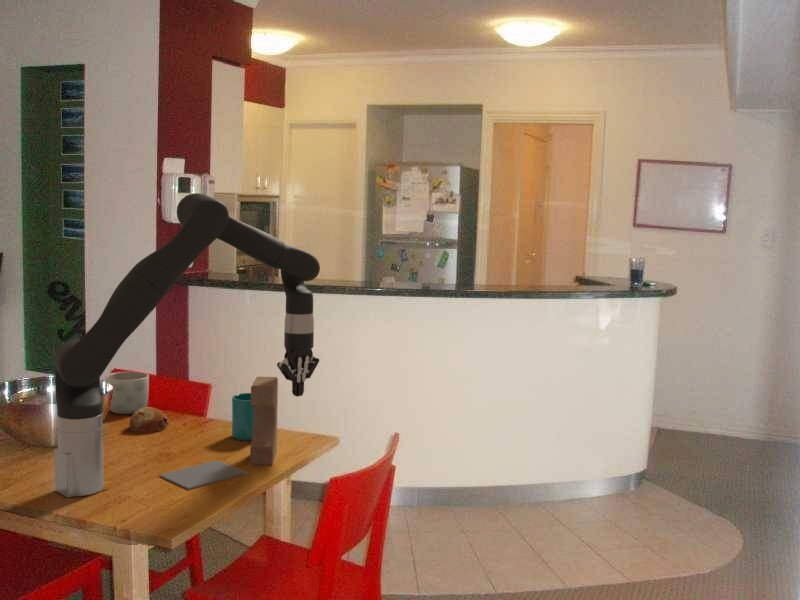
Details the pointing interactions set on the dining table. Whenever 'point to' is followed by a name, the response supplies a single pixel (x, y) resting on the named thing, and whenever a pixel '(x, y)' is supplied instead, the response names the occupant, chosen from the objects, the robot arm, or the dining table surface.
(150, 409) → the bread roll
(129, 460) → the dining table surface
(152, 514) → the dining table surface
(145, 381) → the planter
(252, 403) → the decorative block
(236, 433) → the cup
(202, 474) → the mat
